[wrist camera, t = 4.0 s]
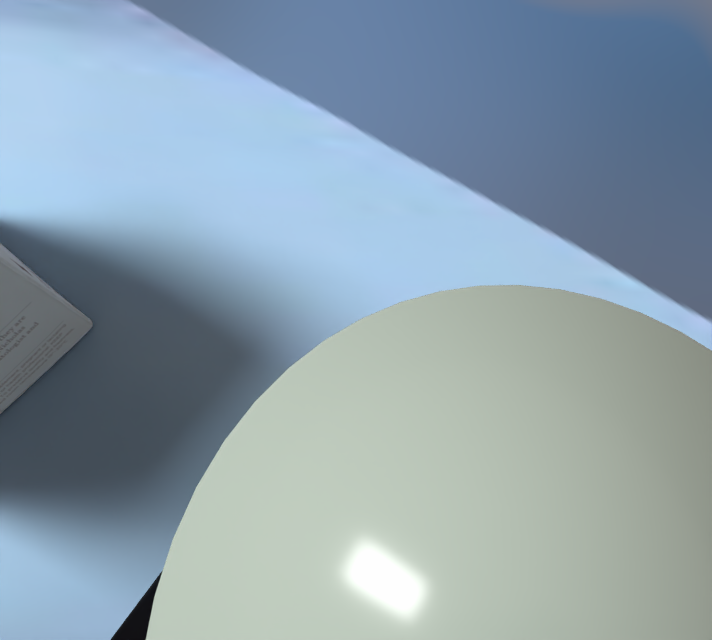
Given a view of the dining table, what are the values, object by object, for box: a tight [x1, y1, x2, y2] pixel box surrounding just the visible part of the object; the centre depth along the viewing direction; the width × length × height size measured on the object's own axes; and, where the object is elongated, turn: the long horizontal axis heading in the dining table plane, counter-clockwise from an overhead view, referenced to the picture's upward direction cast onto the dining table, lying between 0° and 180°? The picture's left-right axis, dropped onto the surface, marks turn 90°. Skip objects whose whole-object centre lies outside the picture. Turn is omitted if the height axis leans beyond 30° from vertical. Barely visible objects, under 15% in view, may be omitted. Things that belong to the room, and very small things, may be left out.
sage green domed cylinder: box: [146, 285, 712, 640], centre depth 9 cm, size 5×5×13 cm
